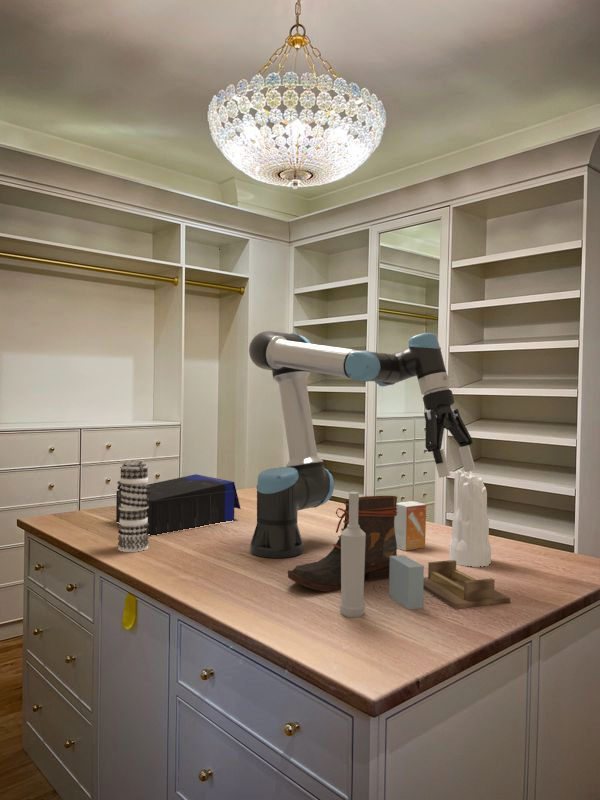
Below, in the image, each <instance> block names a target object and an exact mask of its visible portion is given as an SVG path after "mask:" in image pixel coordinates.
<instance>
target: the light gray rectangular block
mask: <svg viewBox="0 0 600 800" xmlns="http://www.w3.org/2000/svg"><path fill="white" fill-rule="evenodd" d="M424 567H425V566H424V565H423V564H421V563H419V562H417V561H415V560H414V559H411V558H410V557H408V556H406V555H405V554H397V556H390V572H389V579H388V580H389V581H388V583H389V584H388V585H389V586H388V589H389V590H388V596H389V597H391V598H392V599H393V600H394V601H396V602H397V603H398V604H400V605H401V606H403V607H404V608H405V609H407V610H408V611H409V610H415V609H424V589H423V583H424V578H425V577H424V575H425V573H424V571H425V570H424V569H425V568H424Z"/></svg>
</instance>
